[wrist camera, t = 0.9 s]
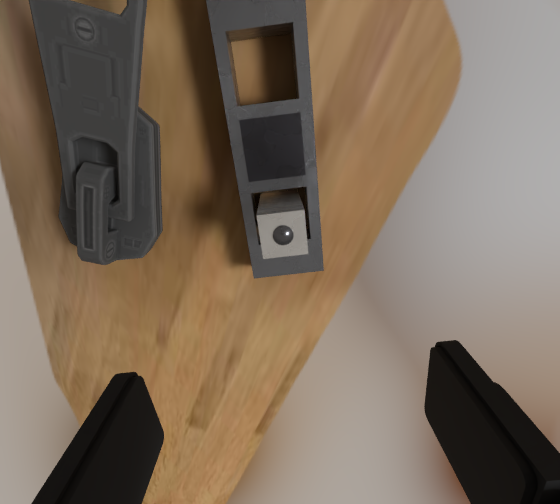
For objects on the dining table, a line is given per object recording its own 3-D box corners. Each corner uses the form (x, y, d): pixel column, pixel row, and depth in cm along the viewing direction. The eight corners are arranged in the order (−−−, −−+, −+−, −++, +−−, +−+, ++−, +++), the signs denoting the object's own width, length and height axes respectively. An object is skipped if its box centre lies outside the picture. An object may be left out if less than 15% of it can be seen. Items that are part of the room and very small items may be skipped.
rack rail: (209, -10, 23) (200, -28, 21) (299, -23, 23) (302, -43, 20) (255, 265, 33) (253, 278, 30) (319, 258, 33) (323, 270, 30)
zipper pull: (157, -85, 17) (133, 289, 26) (188, -30, 23) (159, 258, 32) (-14, -141, 16) (25, 268, 25) (66, -68, 22) (73, 240, 32)
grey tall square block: (260, 192, 30) (256, 215, 22) (297, 188, 30) (304, 210, 22) (265, 227, 31) (263, 259, 24) (300, 223, 31) (308, 254, 24)
